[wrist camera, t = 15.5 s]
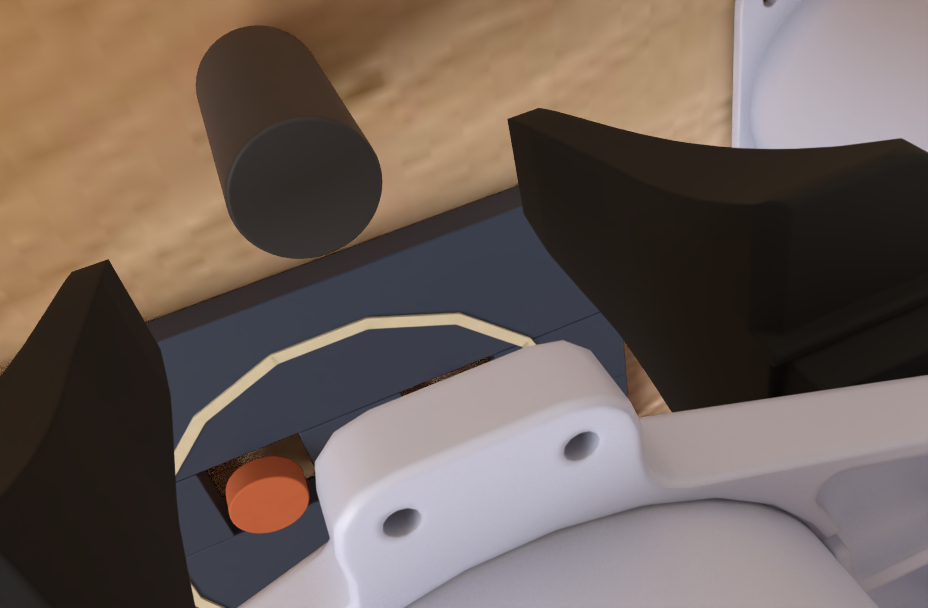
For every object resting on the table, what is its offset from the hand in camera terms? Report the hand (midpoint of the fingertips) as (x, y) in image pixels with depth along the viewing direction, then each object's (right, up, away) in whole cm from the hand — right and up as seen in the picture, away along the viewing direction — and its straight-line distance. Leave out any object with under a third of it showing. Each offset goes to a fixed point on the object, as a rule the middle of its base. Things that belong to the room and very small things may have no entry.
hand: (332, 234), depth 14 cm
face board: (-1, -7, +16) cm, 17 cm away
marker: (-3, +5, +7) cm, 9 cm away
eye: (-5, -7, +14) cm, 16 cm away
